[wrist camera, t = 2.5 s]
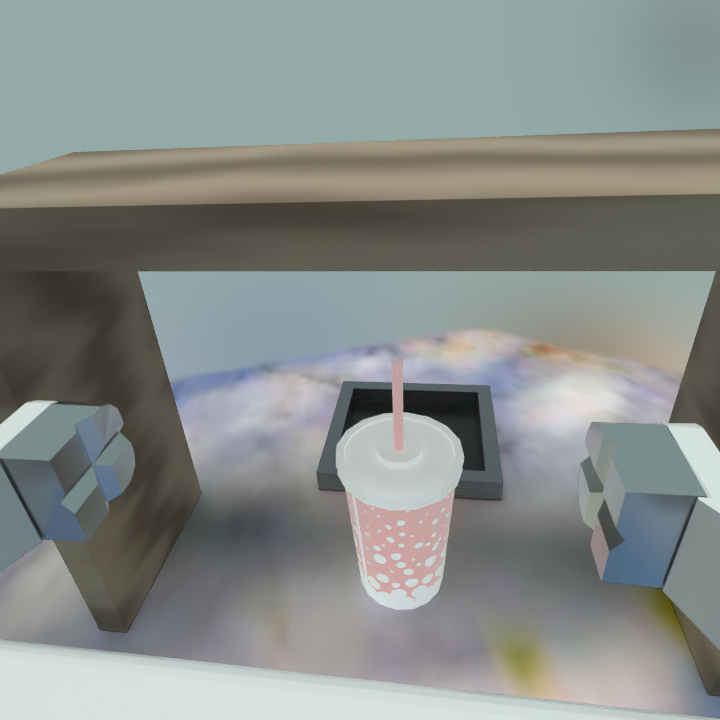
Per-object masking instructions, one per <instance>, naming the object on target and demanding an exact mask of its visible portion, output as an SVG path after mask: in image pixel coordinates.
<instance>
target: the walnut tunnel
mask: <svg viewBox="0 0 720 720" xmlns="http://www.w3.org/2000/svg"><path fill="white" fill-rule="evenodd" d="M138 271H716V273H715V276H714V280H713V283H712V286H711V289H710V292H709V296H708V299H707V302H706V305H705V308H704V312H703V315H702V318H701V321H700V324H699V327H698V331H697V334H696V337H695V340H694V343H693V347H692V350H691V353H690V356H689V359H688V363H687V366H686V369H685V372H684V375H683V378H682V382H681V385H680V388H679V391H678V394H677V398H676V401H675V404H674V407H673V410H672V414H671V417H670V420H669V423H696V424H698V425H699V426H701V427H703V428H704V430H705V431H706V433H707V434H708V436H709V437H710V439H711V440H712V441H713V443H714V444H715V446H716V447H717V449H718V450H719V452H720V129H698V130H673V131H672V130H671V131H645V132H644V131H643V132H619V133H618V132H616V133H590V134H561V135H534V136H508V137H507V136H506V137H480V138H453V139H424V140H397V141H372V142H371V141H369V142H343V143H316V144H289V145H288V144H287V145H261V146H235V147H234V146H233V147H207V148H206V147H205V148H180V149H179V148H178V149H151V150H123V151H96V152H73V153H70V154H67V155H63V156H60V157H56V158H53V159H50V160H47V161H43V162H40V163H37V164H34V165H30V166H27V167H23V168H20V169H17V170H14V171H10V172H7V173H4V174H0V424H1V423H3V422H4V421H5V420H6V419H7V418H9V417H10V416H11V415H12V414H13V413H14V412H16V411H17V410H18V409H19V408H20V407H22V406H23V405H24V404H25V403H27V402H31V401H35V400H44V401H58V402H60V401H67V402H84V403H101V404H110V405H112V406H114V407H116V408H118V410H119V413H120V415H121V417H122V420H123V422H124V424H123V426H122V428H121V430H120V433H121V434H122V435H123V436H124V437H125V438H126V439H128V440H129V441H130V442H131V444H132V447H133V450H134V454H135V468H134V471H133V475H132V479H131V481H130V483H129V484H128V486H127V487H126V489H125V490H124V492H123V493H122V494H120V495H119V496H117V497H115V498H114V499H112V500H110V501H109V502H108V506H109V513H108V514H107V516H106V517H105V518H104V520H103V521H102V523H101V524H100V525H99V527H98V528H97V530H96V531H95V532H94V534H93V535H92V537H91V538H90V539H89V541H88V542H84V541H63V540H53V541H54V543H55V544H56V546H57V548H58V550H59V552H60V554H61V556H62V558H63V560H64V562H65V564H66V565H67V567H68V569H69V571H70V573H71V575H72V577H73V579H74V581H75V583H76V585H77V587H78V588H79V590H80V592H81V594H82V596H83V598H84V600H85V602H86V604H87V606H88V608H89V609H90V611H91V613H92V615H93V617H94V619H95V621H96V623H97V625H98V627H99V629H100V630H106V631H115V632H125V633H127V631H128V629H129V627H130V625H131V623H132V622H133V620H134V618H135V616H136V614H137V612H138V610H139V608H140V607H141V605H142V603H143V601H144V599H145V597H146V595H147V594H148V592H149V590H150V588H151V586H152V584H153V582H154V580H155V579H156V577H157V575H158V573H159V571H160V569H161V567H162V566H163V564H164V562H165V560H166V558H167V556H168V554H169V552H170V551H171V549H172V547H173V545H174V543H175V541H176V539H177V538H178V536H179V534H180V532H181V530H182V528H183V526H184V524H185V523H186V521H187V519H188V517H189V515H190V513H191V511H192V509H193V508H194V506H195V504H196V502H197V500H198V498H199V496H200V495H201V489H200V486H199V482H198V479H197V476H196V472H195V469H194V465H193V462H192V458H191V455H190V451H189V448H188V444H187V441H186V437H185V434H184V431H183V427H182V424H181V420H180V417H179V413H178V410H177V406H176V403H175V399H174V396H173V392H172V389H171V386H170V382H169V379H168V375H167V372H166V368H165V365H164V361H163V358H162V355H161V351H160V348H159V344H158V341H157V337H156V334H155V330H154V327H153V323H152V320H151V316H150V313H149V310H148V306H147V302H146V299H145V296H144V292H143V289H142V286H141V282H140V278H139V275H138ZM670 601H671V603H672V606H673V608H674V611H675V613H676V616H677V618H678V621H679V623H680V626H681V628H682V630H683V633H684V635H685V638H686V640H687V643H688V645H689V648H690V650H691V653H692V655H693V658H694V660H695V663H696V665H697V668H698V670H699V672H700V675H701V677H702V680H703V682H704V685H705V687H706V690H707V692H708V695H716V696H720V650H719V649H718V648H717V647H716V646H715V645H714V644H713V643H712V642H711V641H710V640H709V639H708V638H707V637H706V636H705V634H704V633H703V632H702V631H701V630H700V629H699V628H698V627H697V626H696V625H695V624H694V623H693V622H692V621H691V620H690V619H689V618H688V617H687V616H686V615H685V614H684V613H683V612H682V611H681V610H680V609H679V608H678V606H677V605H676V604H675V603H674V602H673V601H672V600H671V599H670Z"/></svg>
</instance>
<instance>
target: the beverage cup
mask: <svg viewBox="0 0 720 720" xmlns="http://www.w3.org/2000/svg"><path fill="white" fill-rule="evenodd" d="M391 361H392V397H393V413H384V414H380V415H377V416H374V417H370V418H367V419H364V420H362V421H360V422H359V423H357V424H356V425H354V426H353V427H351V428H350V429H348V430H347V431H346V432H345V433H344V435H343V436H342V438H341V439H340V441H339V442H338V444H337V445H336V467H337V469H338V474H337V475H338V476H339V478H340V480H341V482H342V484H343V485H344V487H345V491H346V496H347V502H348V508H349V513H350V519H351V524H352V530H353V536H354V541H355V547H356V552H357V558H358V564H359V569H360V575H361V580H362V583H363V585H364V587H365V589H366V591H367V593H368V595H370V596H371V597H372V598H373V599H374V600H375V601H377V602H378V603H379V604H380V605H383V606H386V607H389V608H392V609H395V610H405V609H415V608H417V607H419V606H422V605H424V604H426V603H428V602H429V601H430V600H431V599H432V598H433V597H434V596H435V595H436V594H437V593H438V591H439V588H440V585H441V582H442V578H443V572H444V564H445V557H446V550H447V543H448V535H449V528H450V521H451V514H452V506H453V499H454V492H455V488H456V487H457V485H458V482H459V479H460V476H461V473H462V470H463V468H462V465H463V463H464V453H463V450H462V446H461V442H460V439H459V438H458V437H457V436H456V435H455V434H454V433H453V432H452V431H451V430H450V429H449V428H448V426H446V425H444V424H442V423H440V422H438V421H436V420H434V419H432V418H430V417H427V416H422V415H417V414H412V413H407V412H405V413H403V363H402V359H401V358H393V359H392V360H391Z"/></svg>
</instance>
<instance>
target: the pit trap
mask: <svg viewBox="0 0 720 720" xmlns="http://www.w3.org/2000/svg"><path fill="white" fill-rule="evenodd" d="M405 412H407V413H412V414H417V415H422V416H427V417H430V418H432V419H434V420H436V421H438V422H440V423H442V424H444V425H446V426H448V428H449V429H450V430H451V431H452V432H453V433H454V434H455V435H456V436H457V437H458V438H459V439H460V442H461V446H462V450H463V453H464V463H463V465H462V468H463V470H462V473H461V476H460V479H459V482H458V485H457V487H456V488H455V492H454V497H458V498H475V499H491V500H501V494H502V485H503V481H502V474H501V466H500V458H499V451H498V443H497V436H496V428H495V421H494V413H493V406H492V398H491V391H490V386H486V385H453V384H420V383H403V413H405ZM384 413H393V397H392V383H386V382H353V381H343V384H342V388H341V391H340V395H339V398H338V401H337V405H336V408H335V412H334V415H333V418H332V422H331V425H330V429H329V432H328V435H327V439H326V442H325V446H324V449H323V452H322V456H321V459H320V463H319V466H318V469H317V480H318V487H319V489H326V490H342V491H345V487H344V485H343V484H342V482H341V480H340V478H339V476H338V475H337V474H338V469H337V467H336V445H337V444H338V442H339V441H340V439H341V438H342V436H343V435H344V433H345V432H346V431H347V430H348V429H350V428H351V427H353V426H354V425H356V424H357V423H359V422H360V421H362V420H364V419H367V418H370V417H374V416H377V415H380V414H384Z"/></svg>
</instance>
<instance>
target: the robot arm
mask: <svg viewBox="0 0 720 720" xmlns="http://www.w3.org/2000/svg"><path fill="white" fill-rule="evenodd" d="M123 424H124V422H123V420H122V417H121V415H120V413H119V410H118V408H116V407H114V406H112V405H110V404H101V403H84V402H67V401H60V402H58V401H44V400H35V401H31V402H27V403H25V404H24V405H23V406H22V407H20V408H19V409H18V410H17V411H16V412H14V413H13V414H12V415H11V416H10V417H9V418H7V419H6V420H5V421H4V422H3V423H1V424H0V572H1V571H3V570H4V569H5V568H7V567H8V566H10V565H11V564H12V563H14V562H15V561H17V560H18V559H19V558H21V557H22V556H24V555H25V554H26V553H28V552H29V551H30V550H32V549H33V548H35V547H36V546H37V545H39V544H40V543H42V540H63V541H84V542H88V541H89V539H90V538H91V537H92V535H93V534H94V532H95V531H96V530H97V528H98V527H99V525H100V524H101V523H102V521H103V520H104V518H105V517H106V516H107V514H108V513H109V506H108V502H109V501H110V500H112V499H114V498H115V497H117V496H119V495H120V494H122V493H123V492H124V490H125V489H126V487H127V486H128V484H129V483H130V481H131V479H132V475H133V471H134V468H135V454H134V450H133V447H132V444H131V442H130V441H129V440H128V439H126V438H125V437H124V436H123V435H122V434H121V433H120V430H121V428H122V426H123ZM585 443H586V446H587V449H588V452H589V454H590V456H589V457H588V458H587V459H586V460H585V461H583V462H582V463H581V465H580V471H579V477H578V500H579V506H580V511H581V515H582V519H583V522H584V523H585V524H586V525H588V526H589V527H590V528H591V529H592V530H593V535H592V539H591V543H590V546H591V550H592V553H593V556H594V559H595V563H596V566H597V569H598V573H599V576H600V579H601V582H607V583H617V584H627V585H636V586H646V587H656V588H663V592H664V593H665V594H666V595H667V596H668V597H669V598H670V599H671V600H672V601H673V602H674V603H675V604H676V605H677V606H678V608H679V609H680V610H681V611H682V612H683V613H684V614H685V615H686V616H687V617H688V618H689V619H690V620H691V621H692V622H693V623H694V624H695V625H696V626H697V627H698V628H699V629H700V630H701V631H702V632H703V633H704V634H705V636H706V637H707V638H708V639H709V640H710V641H711V642H712V643H713V644H714V645H715V646H716V647H717V648H718V649H719V650H720V452H719V450H718V449H717V447H716V446H715V444H714V443H713V441H712V440H711V439H710V437H709V436H708V434H707V433H706V431H705V430H704V428H703V427H701V426H699V425H698V424H696V423H660V424H638V423H607V422H592V423H591V425H590V427H589V429H588V432H587V437H586V441H585ZM41 539H42V540H41ZM0 720H720V718H711V717H701V716H692V715H683V714H674V713H665V712H656V711H647V710H638V709H629V708H620V707H611V706H602V705H593V704H584V703H575V702H566V701H557V700H548V699H539V698H530V697H521V696H511V695H502V694H493V693H484V692H475V691H466V690H457V689H447V688H438V687H429V686H420V685H411V684H402V683H393V682H384V681H374V680H365V679H356V678H347V677H338V676H329V675H320V674H310V673H301V672H292V671H283V670H274V669H265V668H256V667H247V666H238V665H229V664H220V663H211V662H202V661H193V660H184V659H175V658H166V657H157V656H148V655H139V654H130V653H121V652H112V651H103V650H94V649H85V648H76V647H67V646H58V645H49V644H40V643H31V642H22V641H13V640H4V639H0Z"/></svg>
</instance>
